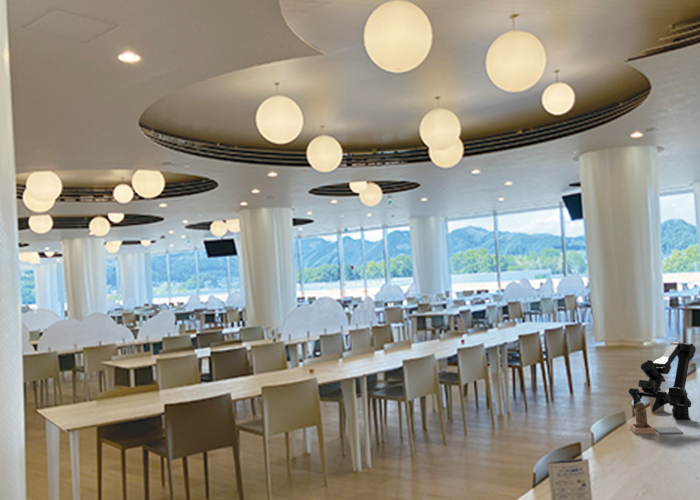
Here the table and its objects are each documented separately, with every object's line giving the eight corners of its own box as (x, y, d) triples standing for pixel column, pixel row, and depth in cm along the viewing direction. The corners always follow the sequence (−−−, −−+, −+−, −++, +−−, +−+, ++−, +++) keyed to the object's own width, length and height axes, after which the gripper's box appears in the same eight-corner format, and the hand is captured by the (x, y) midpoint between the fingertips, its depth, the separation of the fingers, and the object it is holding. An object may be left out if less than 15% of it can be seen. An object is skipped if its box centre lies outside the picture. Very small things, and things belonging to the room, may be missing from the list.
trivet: (675, 428, 285) (675, 426, 285) (683, 434, 275) (683, 432, 275) (653, 428, 287) (653, 427, 287) (660, 434, 277) (659, 432, 277)
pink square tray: (649, 428, 287) (649, 423, 287) (655, 433, 279) (655, 428, 279) (629, 429, 289) (629, 423, 289) (635, 433, 280) (634, 428, 280)
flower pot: (663, 408, 326) (661, 392, 326) (670, 412, 316) (669, 395, 317) (645, 409, 326) (643, 393, 327) (652, 413, 317) (650, 396, 318)
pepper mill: (646, 429, 286) (643, 400, 286) (649, 432, 281) (646, 403, 282) (635, 430, 287) (633, 401, 287) (638, 432, 282) (635, 403, 283)
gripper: (628, 371, 297) (617, 397, 291) (665, 375, 282) (654, 402, 275) (639, 385, 301) (628, 410, 294) (676, 389, 286) (665, 416, 279)
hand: (643, 409), depth 286 cm, fingers open, 9 cm apart
